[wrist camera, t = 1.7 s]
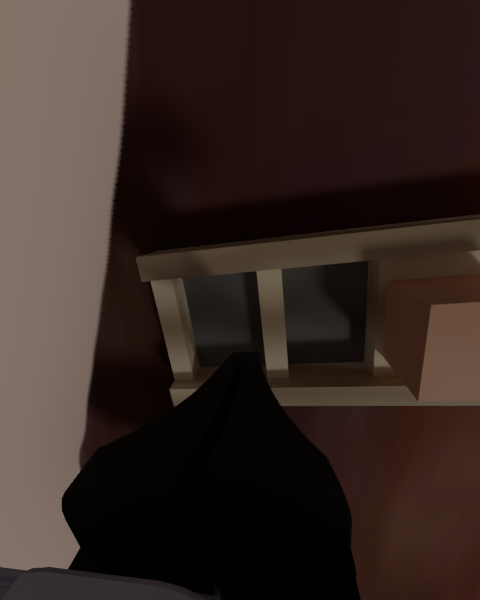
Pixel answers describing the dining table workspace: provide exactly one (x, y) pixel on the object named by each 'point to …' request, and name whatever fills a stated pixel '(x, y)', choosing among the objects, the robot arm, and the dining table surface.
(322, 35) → the dining table surface
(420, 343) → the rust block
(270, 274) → the trap lane
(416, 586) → the dining table surface
